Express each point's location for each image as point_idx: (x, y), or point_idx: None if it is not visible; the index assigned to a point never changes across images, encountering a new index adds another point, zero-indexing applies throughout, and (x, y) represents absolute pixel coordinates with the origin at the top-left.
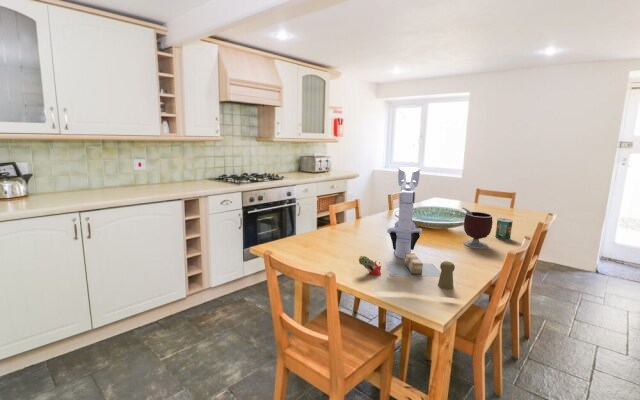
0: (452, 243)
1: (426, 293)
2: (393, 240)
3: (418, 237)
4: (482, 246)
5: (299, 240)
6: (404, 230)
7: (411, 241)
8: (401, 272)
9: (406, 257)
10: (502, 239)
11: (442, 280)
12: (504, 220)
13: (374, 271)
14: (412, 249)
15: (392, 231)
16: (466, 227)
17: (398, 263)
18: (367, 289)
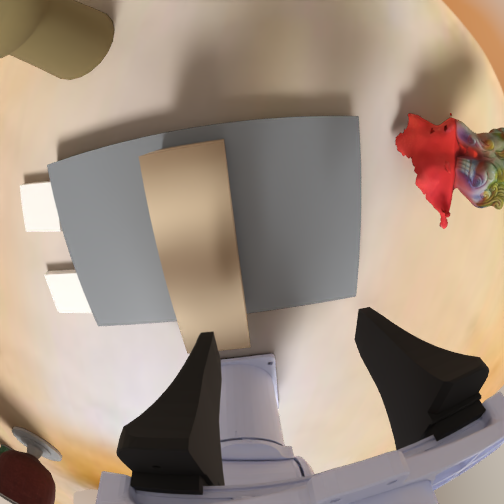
0: (83, 459)
1: None
2: (432, 348)
3: (136, 426)
4: (19, 433)
5: (487, 391)
6: (391, 489)
7: (216, 412)
8: (287, 169)
9: (245, 309)
10: (9, 448)
11: (76, 1)
12: None
13: (446, 126)
14: (208, 334)
15: (464, 434)
16: (42, 486)
17: (279, 304)
18: (443, 26)
